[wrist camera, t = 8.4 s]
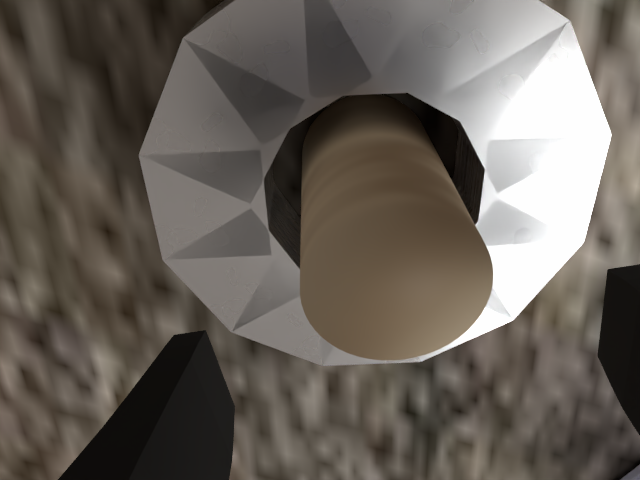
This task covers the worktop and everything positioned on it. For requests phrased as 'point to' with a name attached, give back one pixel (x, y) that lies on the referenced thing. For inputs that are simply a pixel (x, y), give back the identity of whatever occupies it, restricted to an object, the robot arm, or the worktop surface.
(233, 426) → the robot arm
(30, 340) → the worktop surface
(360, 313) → the tan cylinder
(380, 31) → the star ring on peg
